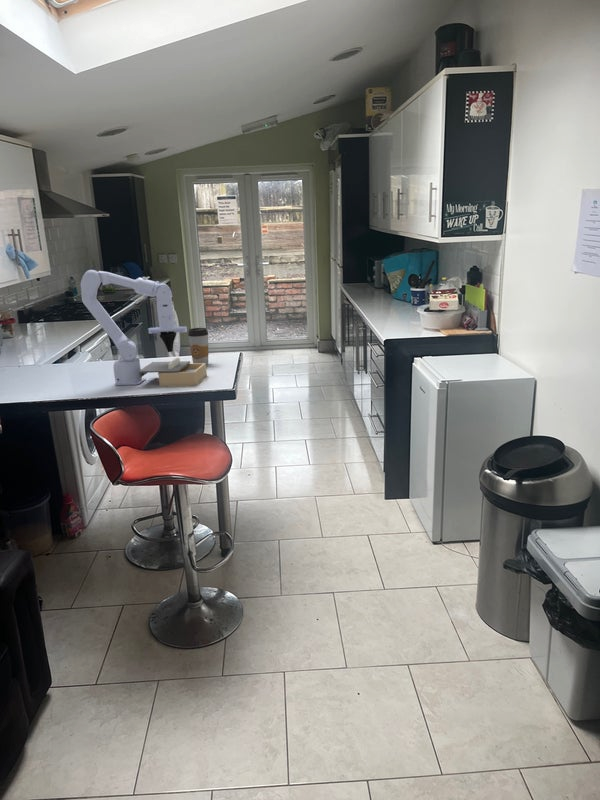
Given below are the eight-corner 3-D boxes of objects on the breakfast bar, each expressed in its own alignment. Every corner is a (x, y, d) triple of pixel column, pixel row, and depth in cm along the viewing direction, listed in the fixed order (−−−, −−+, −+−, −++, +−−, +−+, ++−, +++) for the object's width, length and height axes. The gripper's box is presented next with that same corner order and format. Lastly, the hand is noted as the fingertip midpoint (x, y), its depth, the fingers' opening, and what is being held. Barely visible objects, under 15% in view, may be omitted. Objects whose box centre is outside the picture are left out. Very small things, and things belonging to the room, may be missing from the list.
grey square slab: (139, 377, 223) (137, 365, 222) (153, 367, 237) (151, 357, 236) (178, 376, 221) (177, 365, 220) (190, 367, 235) (189, 356, 234)
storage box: (159, 386, 224) (158, 373, 222) (172, 376, 237) (170, 364, 235) (196, 385, 222) (195, 372, 220) (206, 375, 235) (205, 363, 233)
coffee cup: (187, 366, 251) (183, 331, 247) (196, 362, 259) (192, 327, 255) (206, 367, 249) (202, 331, 245) (214, 362, 257) (211, 327, 252)
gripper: (187, 313, 231) (191, 348, 235) (151, 315, 233) (155, 349, 237) (181, 316, 224) (186, 352, 228) (144, 318, 226) (149, 353, 230)
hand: (170, 351), depth 232 cm, fingers closed
